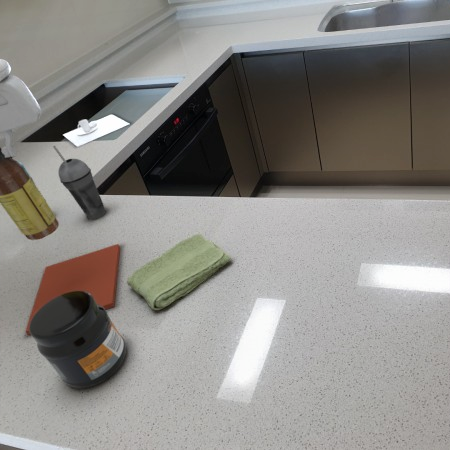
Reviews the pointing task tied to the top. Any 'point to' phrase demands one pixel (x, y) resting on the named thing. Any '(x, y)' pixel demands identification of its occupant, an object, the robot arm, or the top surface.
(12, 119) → the robot arm
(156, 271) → the washcloth
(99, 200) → the beverage cup
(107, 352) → the supplement container
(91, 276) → the condiment mat
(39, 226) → the sauce bottle
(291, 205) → the top surface
